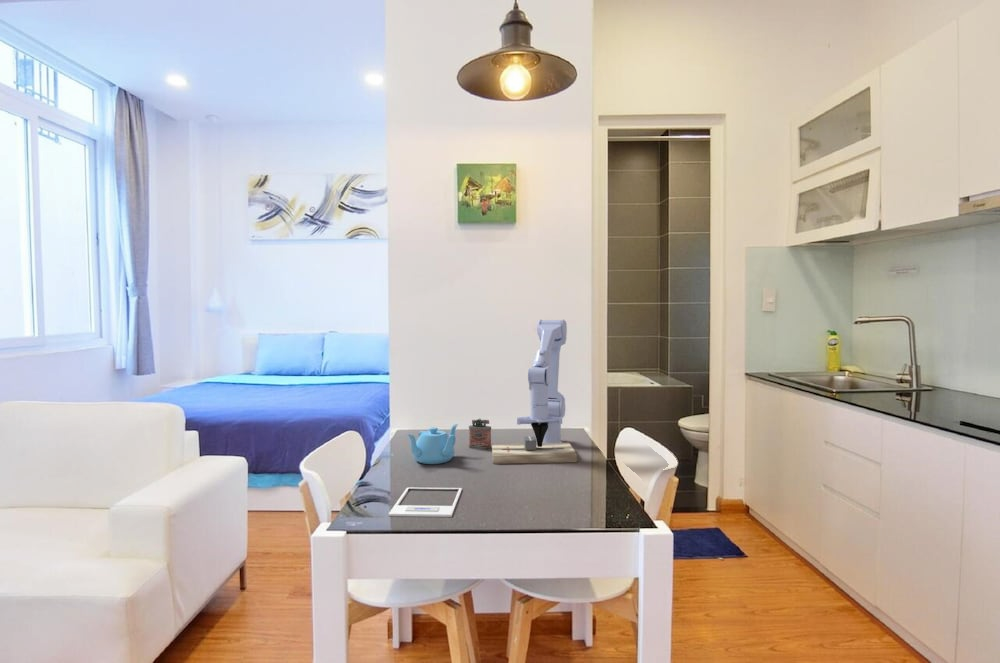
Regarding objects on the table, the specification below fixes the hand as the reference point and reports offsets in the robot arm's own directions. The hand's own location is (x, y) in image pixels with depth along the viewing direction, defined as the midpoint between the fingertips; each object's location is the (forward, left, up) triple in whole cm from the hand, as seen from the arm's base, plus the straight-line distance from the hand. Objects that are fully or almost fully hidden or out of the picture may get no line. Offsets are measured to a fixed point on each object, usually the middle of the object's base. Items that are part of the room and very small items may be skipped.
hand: (539, 446), depth 165 cm
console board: (0, -2, -3) cm, 4 cm away
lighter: (-12, -19, -4) cm, 23 cm away
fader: (0, -3, -1) cm, 3 cm away
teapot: (+2, -33, -4) cm, 33 cm away
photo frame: (+38, -32, -4) cm, 50 cm away
